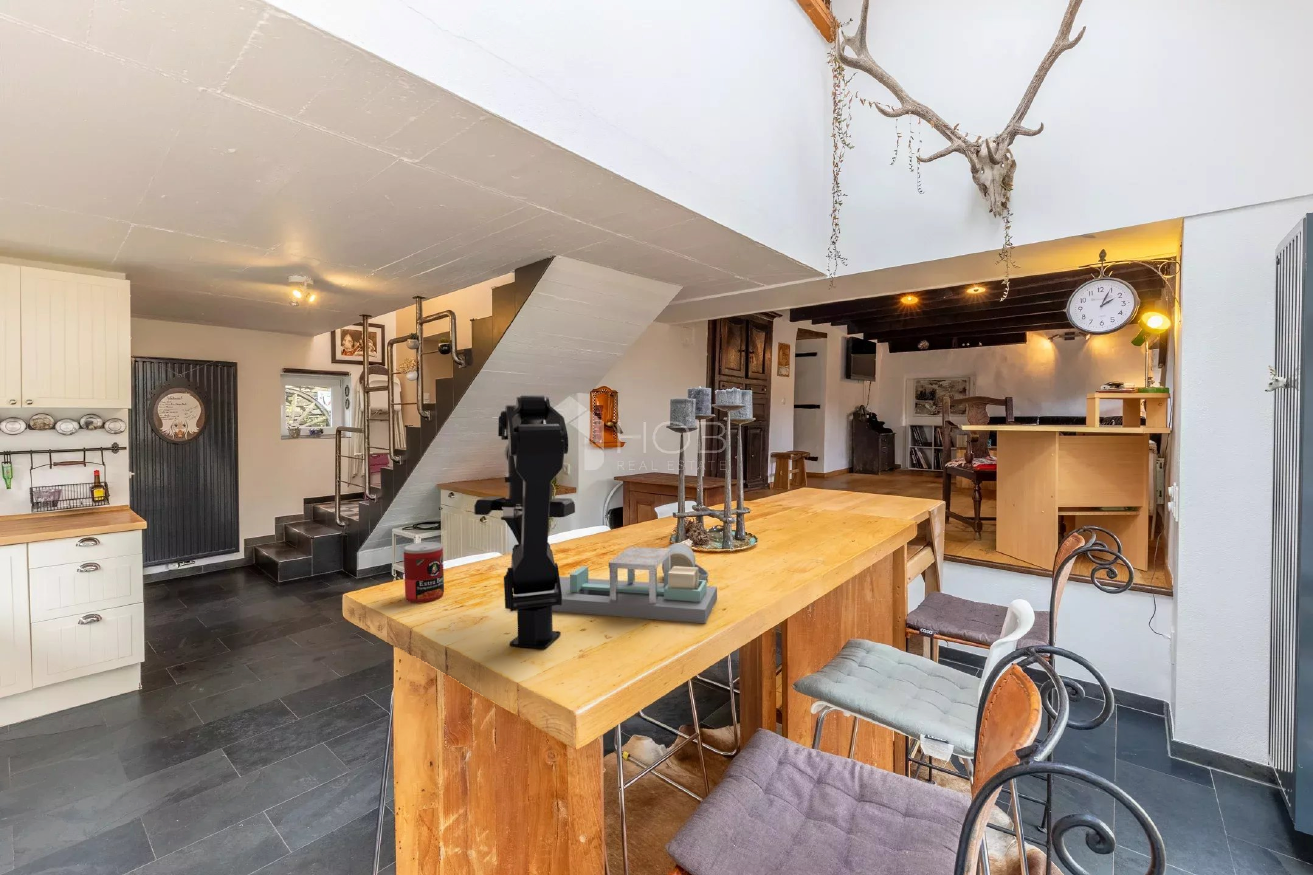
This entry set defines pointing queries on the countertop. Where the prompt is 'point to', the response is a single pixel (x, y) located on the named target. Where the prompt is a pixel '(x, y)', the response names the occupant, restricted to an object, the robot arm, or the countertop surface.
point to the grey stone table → (640, 568)
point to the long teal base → (636, 588)
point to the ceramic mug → (684, 559)
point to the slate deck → (632, 603)
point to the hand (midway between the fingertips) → (525, 551)
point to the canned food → (423, 571)
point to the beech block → (683, 578)
